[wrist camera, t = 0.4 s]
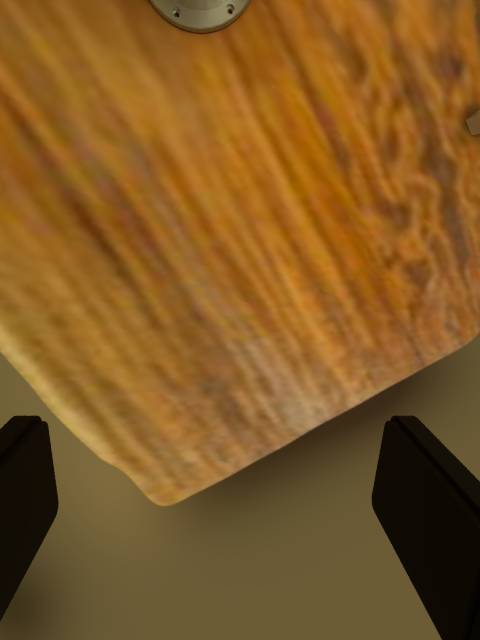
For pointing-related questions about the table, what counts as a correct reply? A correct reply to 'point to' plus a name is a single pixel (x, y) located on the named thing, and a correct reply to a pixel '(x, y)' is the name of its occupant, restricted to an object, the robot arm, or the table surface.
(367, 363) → the table surface
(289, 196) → the table surface
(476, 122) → the tile
